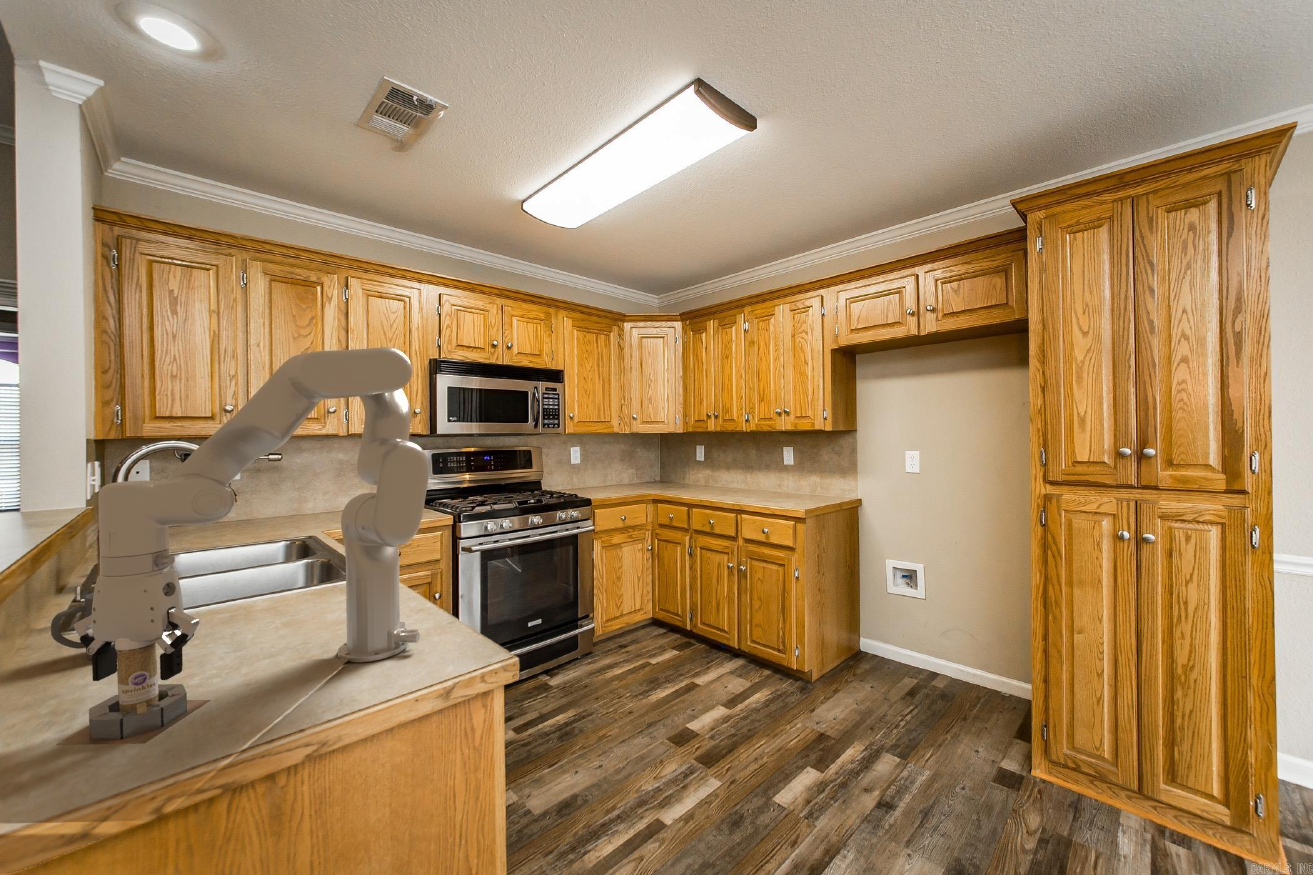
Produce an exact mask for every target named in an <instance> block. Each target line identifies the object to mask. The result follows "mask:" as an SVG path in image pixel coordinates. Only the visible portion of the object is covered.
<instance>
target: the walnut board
mask: <svg viewBox="0 0 1313 875" xmlns="http://www.w3.org/2000/svg"><path fill="white" fill-rule="evenodd" d="M211 701H212V699H187V712H186V713H185V714H184V715H182V716H181V717H179V718H178V719H176V720H174V721H173V722H171V723H170V724H168V725H167V726H165V727H161V729H158V730H154V731H151V732H148V733H144V734H141V735H138V736H134V737H131V738H128V739H125V740H123V739H122V740H115V741H91V740H90V734H89V726H87V727H85V728H84V729H82V730H80V731H78V732H76V733H74V734H73V735H71V736H69V737H67V738H65V739H64V740H62V741H60V742H59V743H56V746H60V745H62V746H63V745H64V746H65V745H66V746H67V745H68V746H70V745H72V746H73V745H121V744H122V745H123V744H124V745H125V744H126V745H128V744H129V745H130V744H132V745H133V744H135V745H136V744H146V743H148V742H149V741H150V740H152V739H154V738H156V737H157V736H158V735H160V734H162V733H163V732H165V731H166V730H168V729H169V728H170V727H172V726H174V725H175V724H177V723H178V722H180V721H181V720H182V719H184V718H186V717H188V716H189V715H191V714H192V713H194V712H195V711H197V710H199V709H201V707H203V706H205V705H206V704H208V703H209V702H211Z"/></svg>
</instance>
